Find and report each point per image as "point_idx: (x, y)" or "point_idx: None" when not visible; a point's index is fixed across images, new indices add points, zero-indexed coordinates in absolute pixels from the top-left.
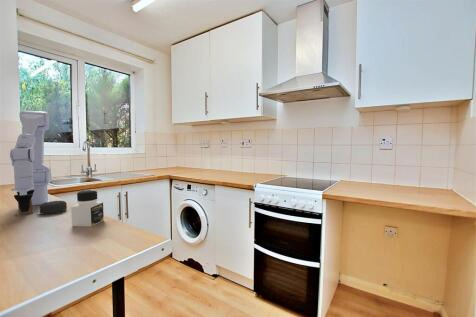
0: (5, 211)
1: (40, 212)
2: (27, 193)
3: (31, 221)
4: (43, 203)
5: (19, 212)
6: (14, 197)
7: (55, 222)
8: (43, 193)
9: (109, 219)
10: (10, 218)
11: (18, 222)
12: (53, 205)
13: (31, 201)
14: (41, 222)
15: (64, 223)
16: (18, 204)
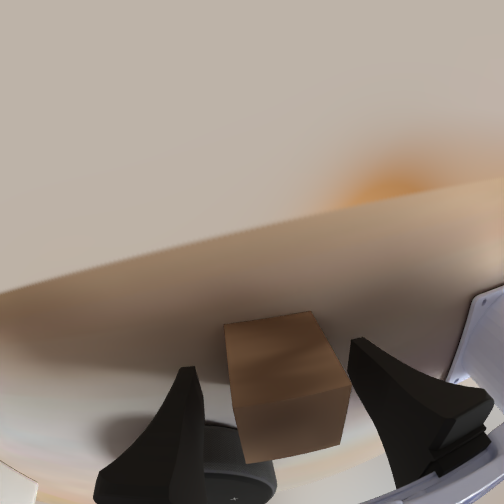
0: (430, 196)
1: None
2: (405, 461)
3: (31, 394)
4: (218, 480)
5: (227, 342)
6: (99, 477)
7: (16, 441)
8: (496, 403)
9: (42, 500)
10: (130, 295)
11: (21, 350)
12: None
13: (252, 461)
14: (16, 416)
15: (8, 451)
16: (233, 395)
